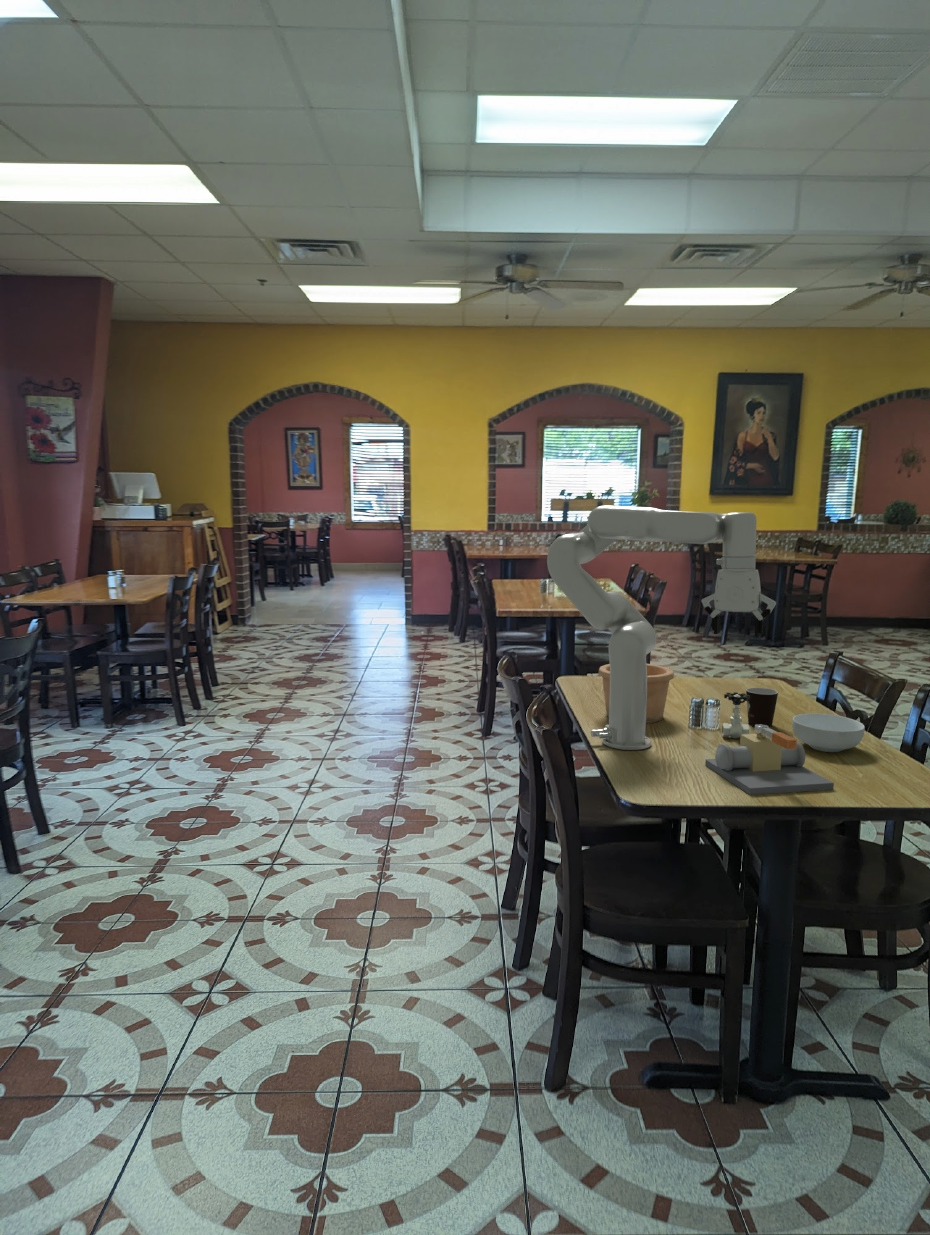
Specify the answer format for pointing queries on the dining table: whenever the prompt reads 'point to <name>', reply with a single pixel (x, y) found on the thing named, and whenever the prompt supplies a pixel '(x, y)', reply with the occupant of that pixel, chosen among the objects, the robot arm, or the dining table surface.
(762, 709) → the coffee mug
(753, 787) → the valve board
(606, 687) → the pottery
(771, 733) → the valve lever
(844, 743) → the cereal bowl
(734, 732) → the valve
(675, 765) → the dining table surface
